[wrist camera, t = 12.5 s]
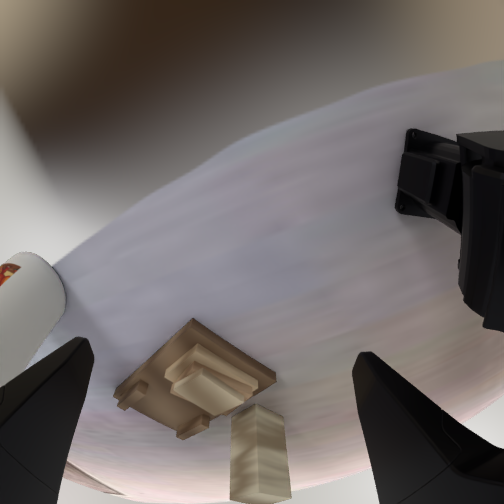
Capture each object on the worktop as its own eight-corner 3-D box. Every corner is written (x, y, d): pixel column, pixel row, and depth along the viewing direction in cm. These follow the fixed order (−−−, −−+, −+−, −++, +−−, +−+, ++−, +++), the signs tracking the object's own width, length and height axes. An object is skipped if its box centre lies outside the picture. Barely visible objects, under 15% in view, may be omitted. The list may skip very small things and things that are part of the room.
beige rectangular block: (255, 403, 29) (258, 492, 19) (283, 416, 30) (291, 498, 20) (231, 417, 30) (229, 499, 20) (259, 429, 32) (262, 506, 22)
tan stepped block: (192, 318, 24) (185, 350, 20) (275, 372, 27) (278, 404, 23) (115, 388, 28) (106, 415, 25) (184, 426, 31) (181, 452, 28)
